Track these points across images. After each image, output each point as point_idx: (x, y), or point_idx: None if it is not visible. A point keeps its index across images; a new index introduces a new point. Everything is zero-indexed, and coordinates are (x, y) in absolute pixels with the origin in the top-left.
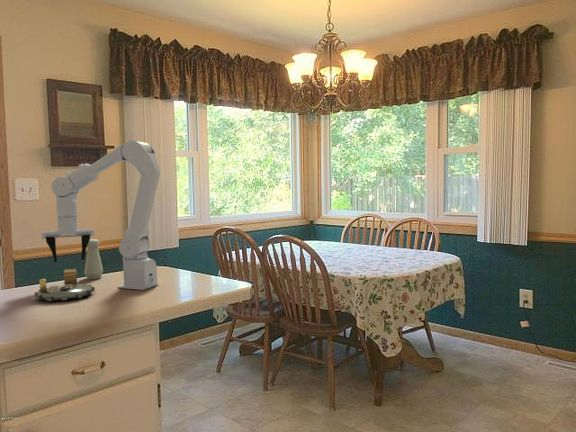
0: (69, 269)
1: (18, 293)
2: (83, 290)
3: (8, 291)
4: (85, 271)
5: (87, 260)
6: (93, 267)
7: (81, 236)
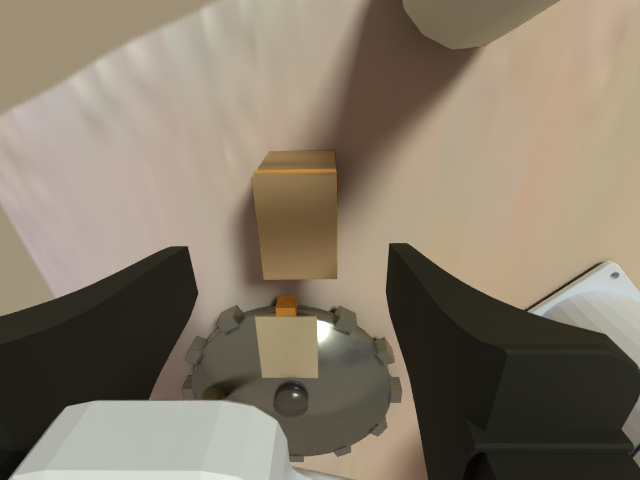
0: (289, 182)
1: (80, 244)
2: (357, 427)
3: (3, 176)
4: (406, 1)
5: None
6: (479, 35)
7: (475, 453)
